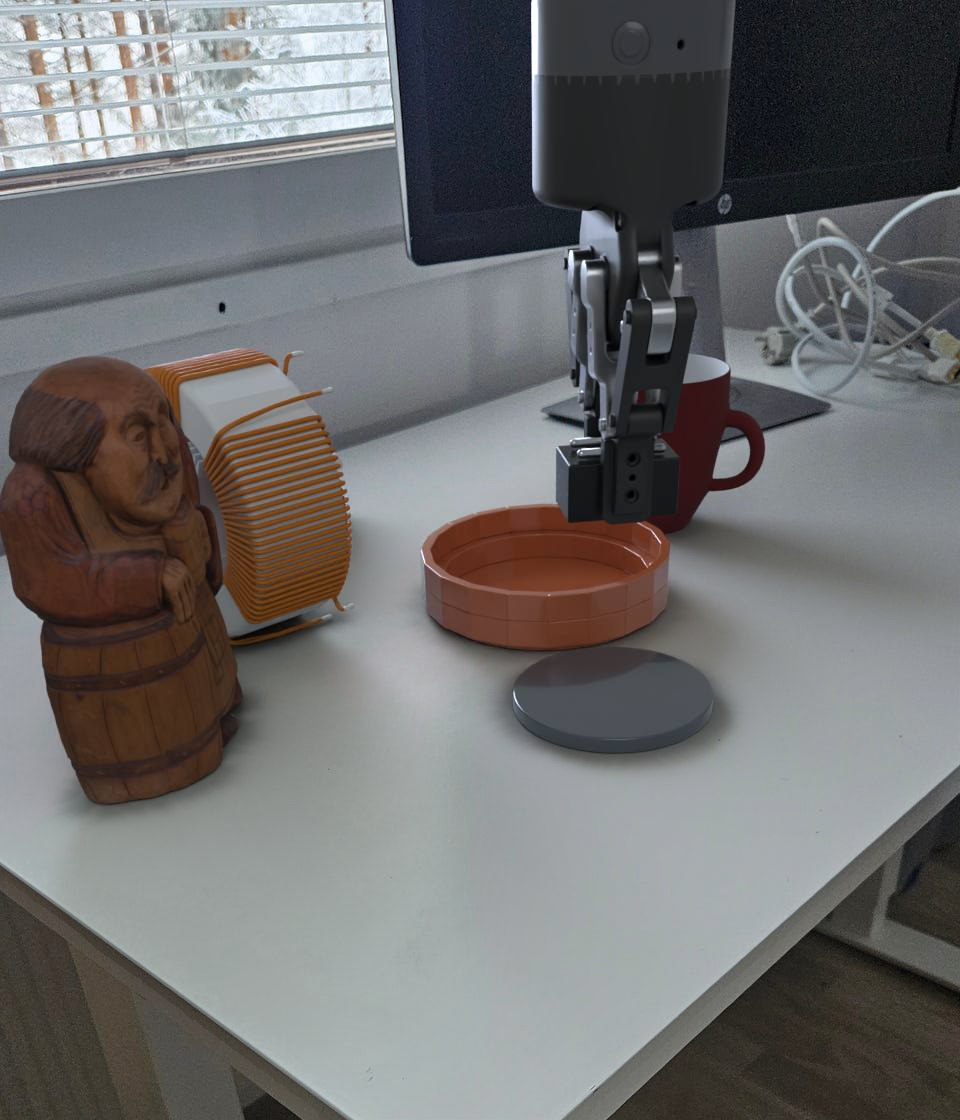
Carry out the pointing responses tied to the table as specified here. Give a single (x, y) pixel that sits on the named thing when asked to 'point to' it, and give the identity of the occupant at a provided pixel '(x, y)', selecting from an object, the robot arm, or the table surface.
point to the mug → (705, 437)
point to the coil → (263, 486)
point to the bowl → (544, 578)
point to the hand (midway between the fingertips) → (615, 505)
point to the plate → (613, 699)
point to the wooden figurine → (119, 579)
